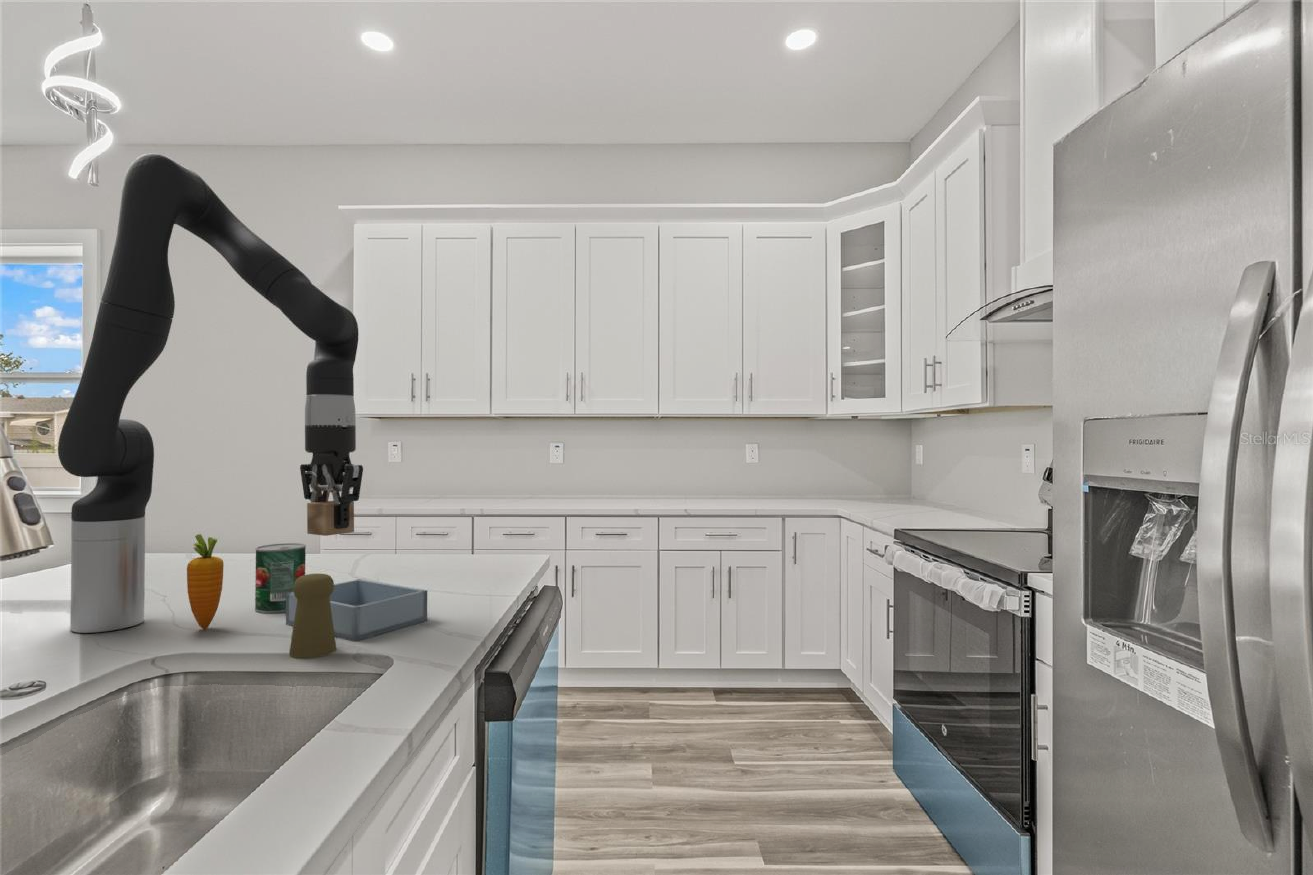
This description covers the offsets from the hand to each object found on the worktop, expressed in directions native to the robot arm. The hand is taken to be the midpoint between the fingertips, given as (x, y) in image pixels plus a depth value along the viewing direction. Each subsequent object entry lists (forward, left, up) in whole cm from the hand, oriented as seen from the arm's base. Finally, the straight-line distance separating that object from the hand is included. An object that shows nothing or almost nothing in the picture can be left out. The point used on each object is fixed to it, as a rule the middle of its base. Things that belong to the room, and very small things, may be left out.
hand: (331, 526), depth 111 cm
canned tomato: (-17, +2, -16) cm, 23 cm away
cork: (+11, -10, -16) cm, 22 cm away
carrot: (-14, -12, -16) cm, 25 cm away
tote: (+3, +3, -16) cm, 16 cm away
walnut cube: (0, 0, -1) cm, 1 cm away
